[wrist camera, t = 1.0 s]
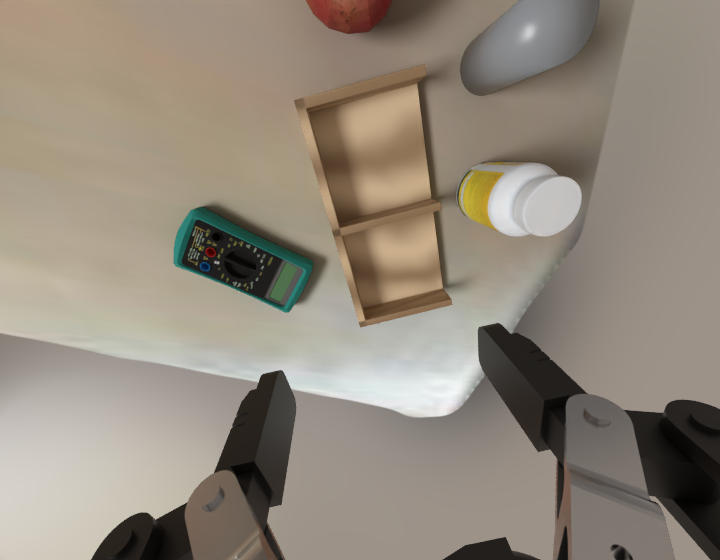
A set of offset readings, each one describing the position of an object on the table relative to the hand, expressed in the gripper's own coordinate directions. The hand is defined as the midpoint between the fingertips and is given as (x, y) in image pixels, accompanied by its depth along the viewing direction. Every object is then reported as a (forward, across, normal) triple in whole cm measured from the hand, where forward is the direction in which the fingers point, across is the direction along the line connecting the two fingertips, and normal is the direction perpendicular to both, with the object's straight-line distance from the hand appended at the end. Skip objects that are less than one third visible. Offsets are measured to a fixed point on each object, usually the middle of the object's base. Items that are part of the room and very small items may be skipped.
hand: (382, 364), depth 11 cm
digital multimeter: (+24, +13, +1) cm, 28 cm away
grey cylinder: (+24, -16, -13) cm, 31 cm away
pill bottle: (+24, -16, -1) cm, 29 cm away
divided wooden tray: (+24, -4, -1) cm, 24 cm away
